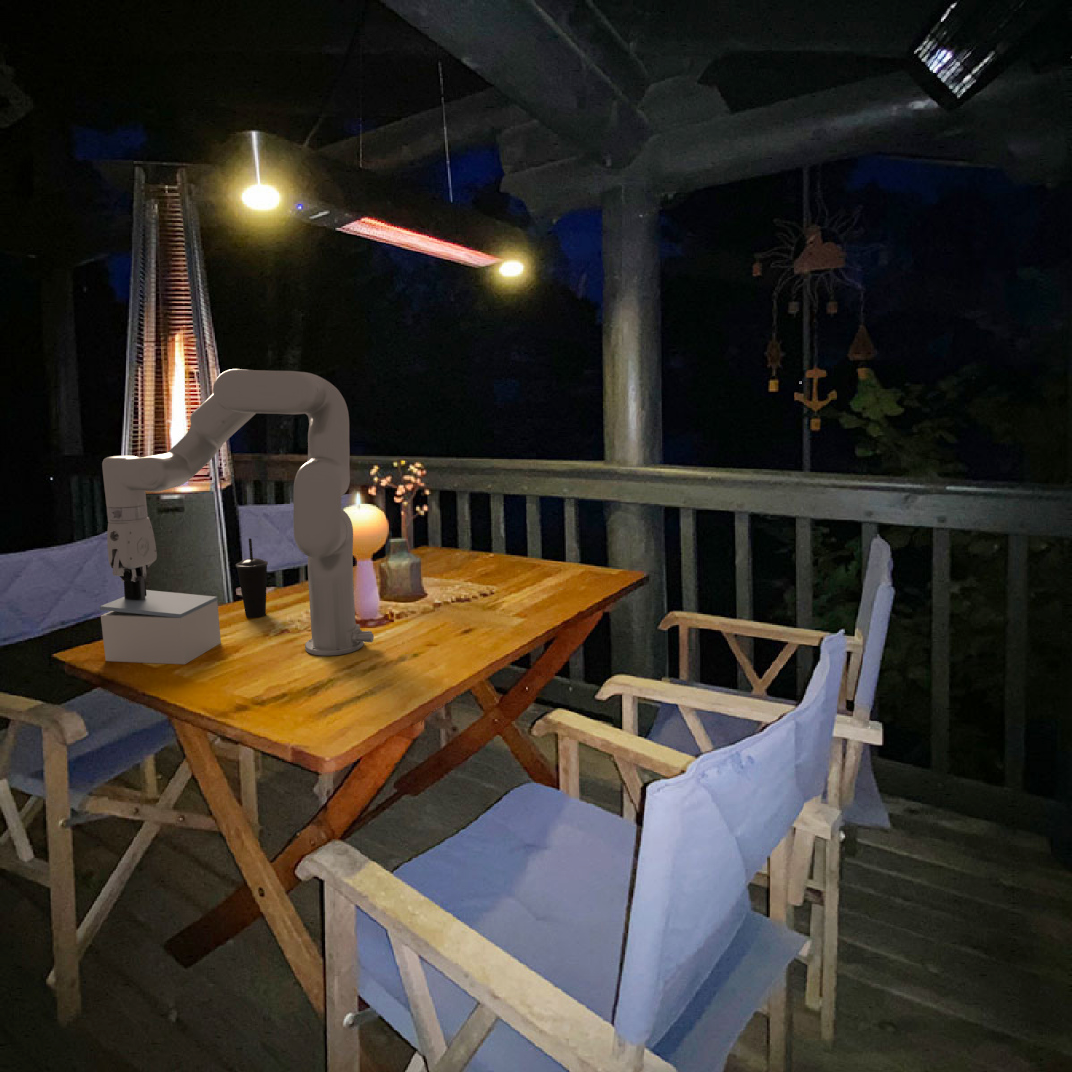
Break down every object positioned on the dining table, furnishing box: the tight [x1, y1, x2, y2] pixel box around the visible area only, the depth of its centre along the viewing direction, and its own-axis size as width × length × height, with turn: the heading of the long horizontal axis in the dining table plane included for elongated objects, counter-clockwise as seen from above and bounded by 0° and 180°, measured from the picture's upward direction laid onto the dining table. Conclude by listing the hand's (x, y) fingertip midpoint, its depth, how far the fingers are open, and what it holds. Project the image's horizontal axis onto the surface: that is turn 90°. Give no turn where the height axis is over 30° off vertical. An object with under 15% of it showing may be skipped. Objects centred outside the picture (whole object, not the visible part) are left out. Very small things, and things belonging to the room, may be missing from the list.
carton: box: [100, 600, 222, 665], centre depth 164 cm, size 18×14×10 cm
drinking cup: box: [235, 538, 269, 619], centre depth 190 cm, size 8×8×20 cm
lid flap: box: [99, 576, 218, 618], centre depth 162 cm, size 18×14×6 cm
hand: (136, 597), depth 163 cm, fingers closed
